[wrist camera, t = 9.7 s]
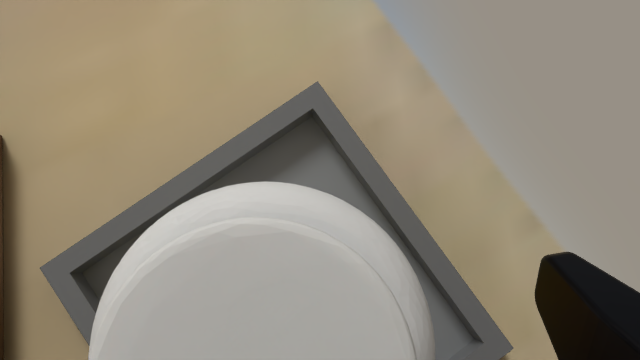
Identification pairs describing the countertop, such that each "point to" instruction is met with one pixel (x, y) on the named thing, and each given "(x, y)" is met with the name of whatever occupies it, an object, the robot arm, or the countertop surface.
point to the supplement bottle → (263, 284)
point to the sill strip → (1, 259)
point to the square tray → (306, 170)
